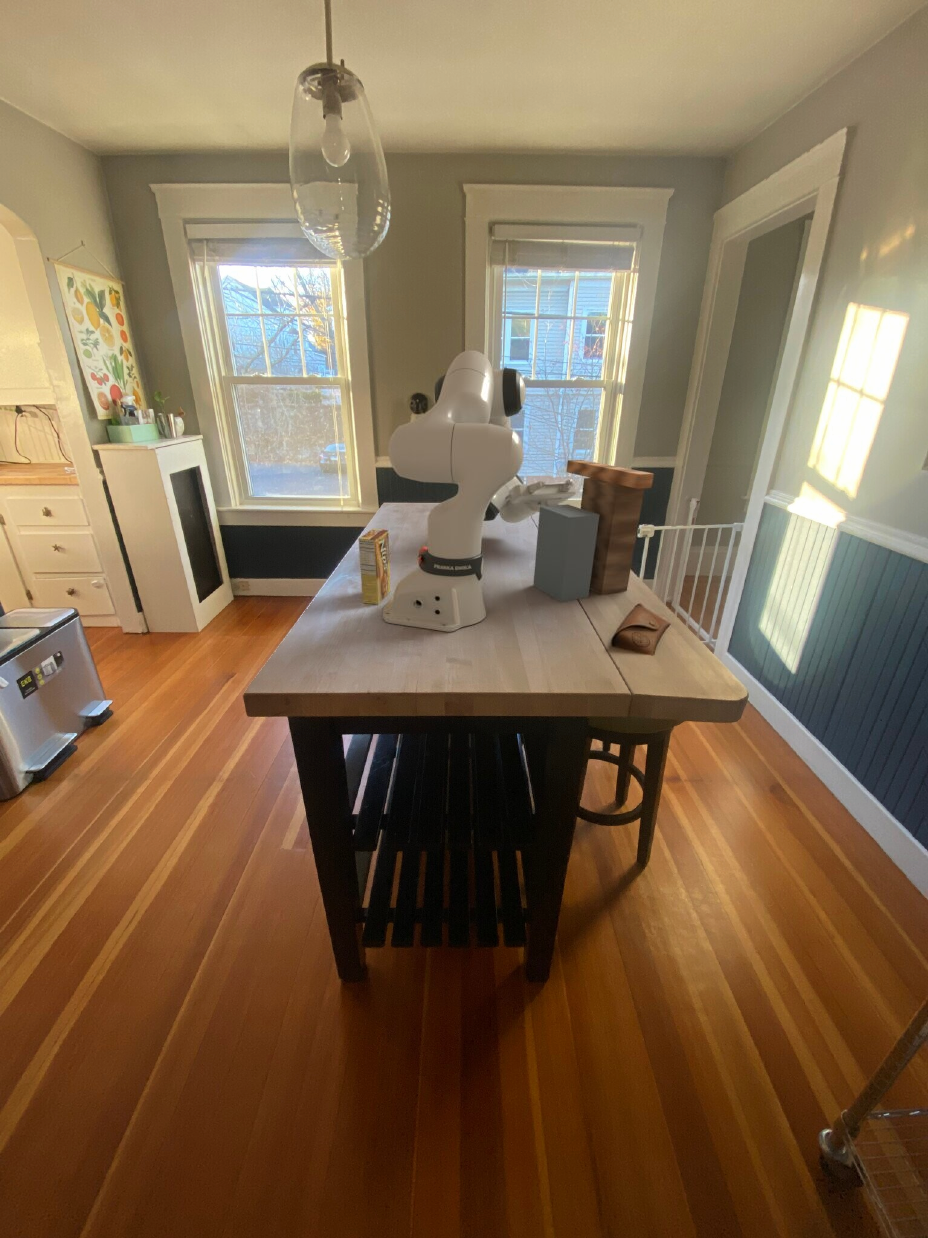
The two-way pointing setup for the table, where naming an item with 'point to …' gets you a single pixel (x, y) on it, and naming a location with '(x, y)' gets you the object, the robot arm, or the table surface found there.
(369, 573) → the candy box
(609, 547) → the tall stand
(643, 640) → the sunglasses case
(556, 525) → the low stand
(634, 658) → the table surface
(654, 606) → the table surface
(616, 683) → the table surface
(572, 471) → the bar
